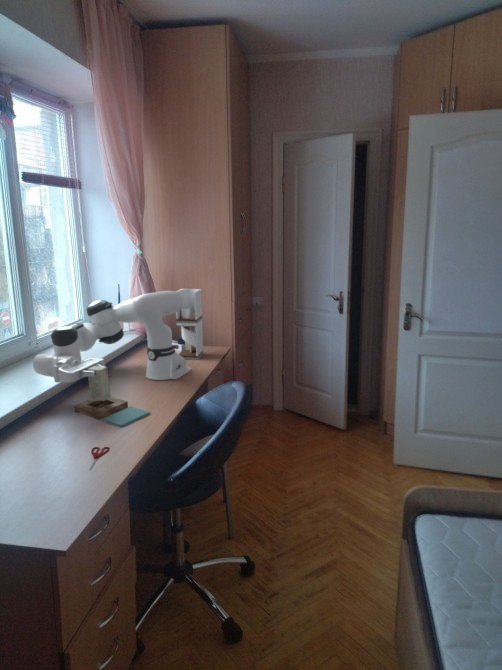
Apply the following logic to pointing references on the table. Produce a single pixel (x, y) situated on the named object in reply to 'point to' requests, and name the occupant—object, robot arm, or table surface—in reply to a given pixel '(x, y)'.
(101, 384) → the skincare box
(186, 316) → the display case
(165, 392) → the table surface
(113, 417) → the teal mat
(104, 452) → the scissors
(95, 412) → the pocket holder
